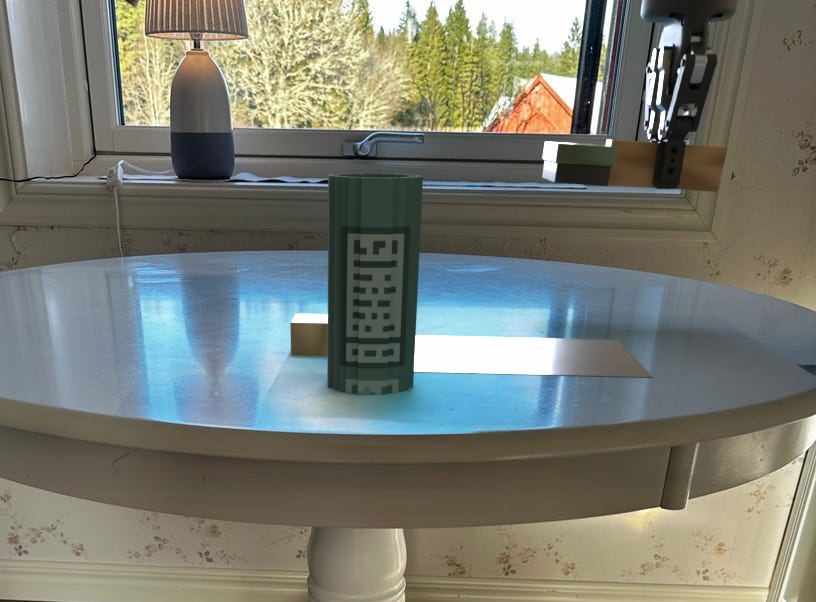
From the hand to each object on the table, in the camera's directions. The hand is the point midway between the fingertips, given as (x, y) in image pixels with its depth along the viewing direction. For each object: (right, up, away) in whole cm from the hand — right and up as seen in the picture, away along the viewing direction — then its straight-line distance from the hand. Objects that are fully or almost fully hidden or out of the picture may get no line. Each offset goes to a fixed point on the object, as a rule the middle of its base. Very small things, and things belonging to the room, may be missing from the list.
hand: (660, 186), depth 85 cm
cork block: (-28, -16, -7) cm, 34 cm away
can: (-27, -23, -16) cm, 39 cm away
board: (-15, -19, -7) cm, 25 cm away
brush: (-3, 0, 0) cm, 3 cm away
